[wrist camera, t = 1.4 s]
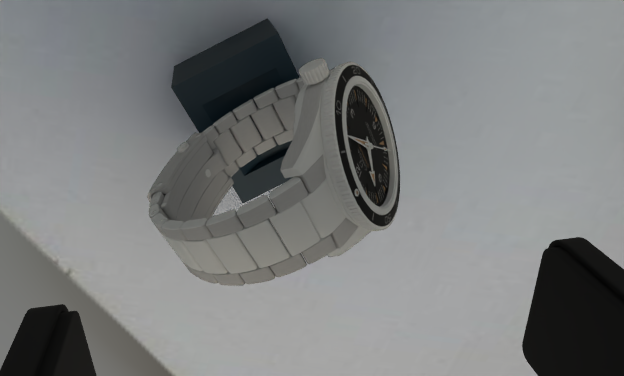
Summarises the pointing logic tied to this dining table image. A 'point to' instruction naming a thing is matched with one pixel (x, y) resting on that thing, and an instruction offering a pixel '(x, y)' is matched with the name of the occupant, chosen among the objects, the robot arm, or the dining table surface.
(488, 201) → the dining table surface
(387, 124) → the watch
